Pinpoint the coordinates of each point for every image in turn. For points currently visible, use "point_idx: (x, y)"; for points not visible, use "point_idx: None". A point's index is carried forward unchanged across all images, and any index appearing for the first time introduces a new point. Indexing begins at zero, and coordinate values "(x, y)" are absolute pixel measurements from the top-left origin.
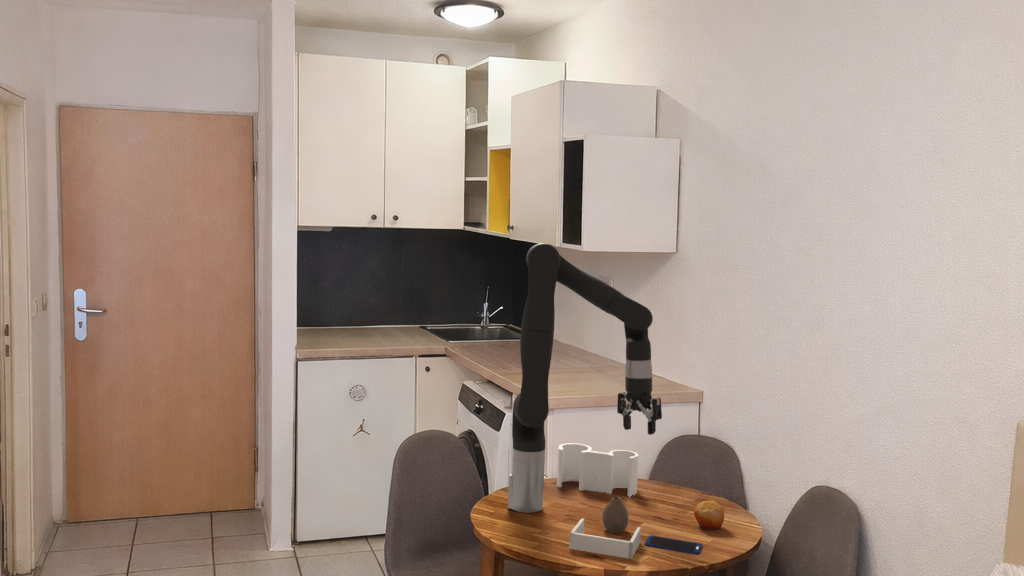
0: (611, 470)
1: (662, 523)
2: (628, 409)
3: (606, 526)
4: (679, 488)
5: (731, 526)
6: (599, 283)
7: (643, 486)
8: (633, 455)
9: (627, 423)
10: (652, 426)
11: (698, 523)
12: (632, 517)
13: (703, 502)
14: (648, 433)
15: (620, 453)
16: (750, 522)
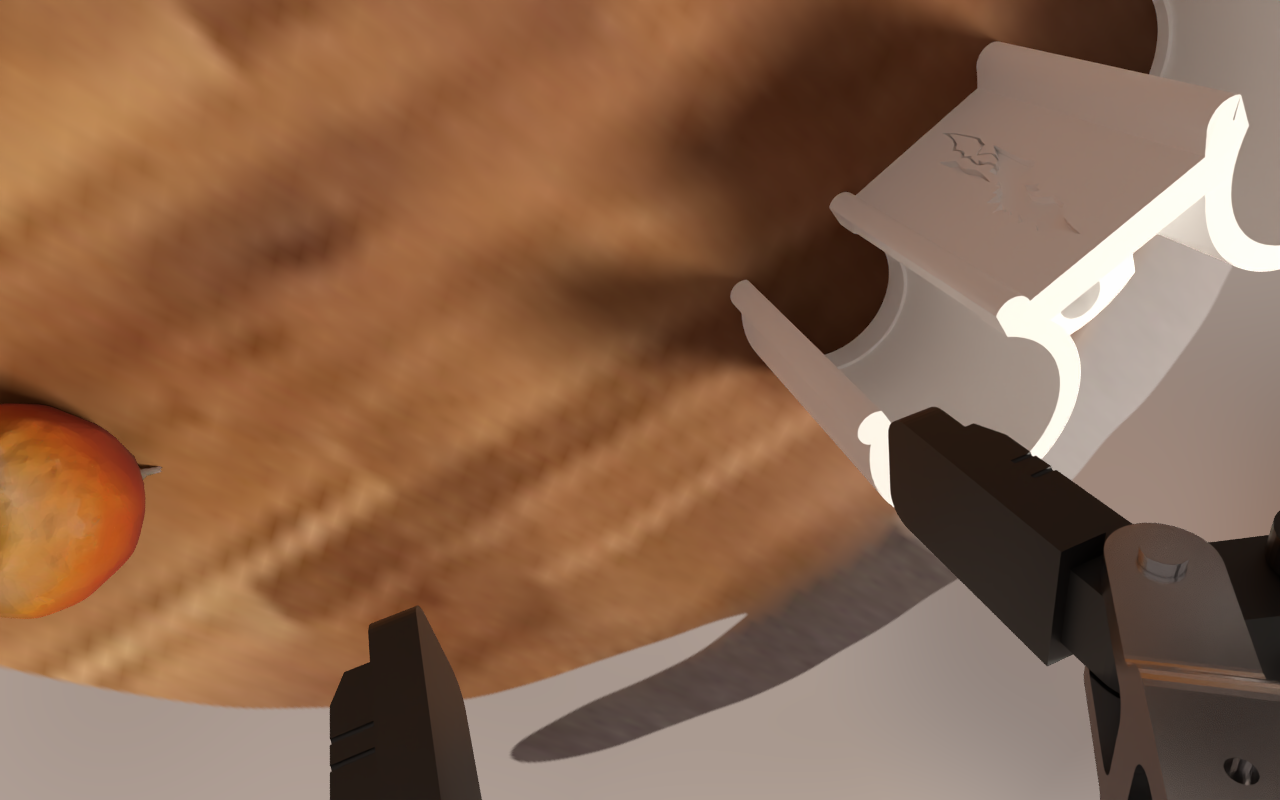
0: (922, 259)
1: (178, 199)
2: (1152, 744)
3: None
4: (721, 593)
5: None
6: None
7: (832, 452)
8: None
9: (959, 503)
10: (332, 796)
11: (43, 406)
12: (364, 54)
13: (29, 534)
14: (400, 618)
15: (1024, 425)
16: (111, 689)
